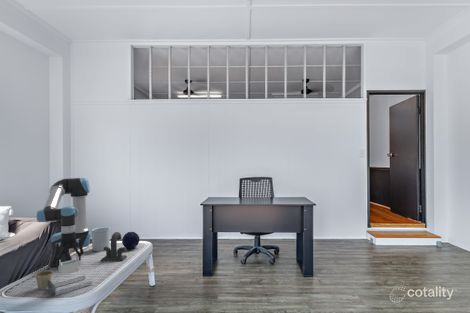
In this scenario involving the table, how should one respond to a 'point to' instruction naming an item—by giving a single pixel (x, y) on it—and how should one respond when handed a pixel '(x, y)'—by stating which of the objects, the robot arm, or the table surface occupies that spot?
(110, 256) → the faucet
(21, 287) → the table surface
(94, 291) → the table surface
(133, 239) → the decorative orb
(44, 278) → the flower pot
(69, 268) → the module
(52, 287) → the rail
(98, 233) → the utensil holder
